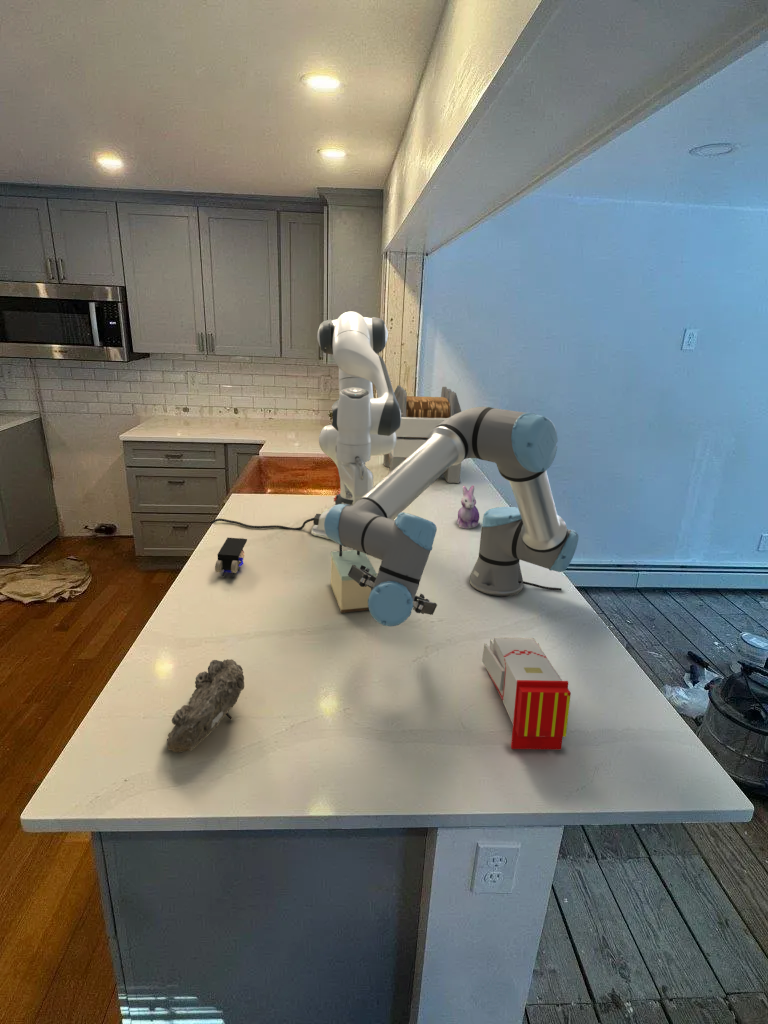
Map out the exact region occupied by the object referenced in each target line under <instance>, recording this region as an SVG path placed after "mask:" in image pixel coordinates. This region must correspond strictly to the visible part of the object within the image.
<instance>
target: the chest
mask: <svg viewBox="0 0 768 1024" xmlns="http://www.w3.org/2000/svg"><path fill="white" fill-rule="evenodd" d="M330 588H331V590H332V593H333V595H334V598H335V601H336V603H337V606H338V609H339V611H340V613H341V614H343V613H354V612H363V611H369V607H368V598H369V595H370V592H371V588H370V587H368V586H367V587H361V586H360V585H359V583H357V582H356V581H355V580H347V581H342V580H341V578H340V576H339V573H338V571H337V569H336V566H335V564H334V562H333V559H332V557H331V556H330Z"/></svg>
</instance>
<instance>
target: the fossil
mask: <svg viewBox="0 0 768 1024" xmlns="http://www.w3.org/2000/svg"><path fill="white" fill-rule="evenodd" d="M243 670H244V669H243V667H242V665H240V664H237V662H236V661H235V660H234V659H232V658H231V659H227V658H226V659H224V660H223V661H222V660H217V659H212V660H211V661H210V663H209V665H208V666H207V671H201V672H199V673H198V674H197V675H196V676H195V680H194V684H195V685H194V687H195V689H194V690H193V693H192V694H191V697H190V698H189V700H188V704H184V705H182V706H181V707H180V709H177V710H176V711H175V713H174V715H173V716H172V718H171V723H172V724H173V727H172V730H171V731H170V732H168V734H167V738H166V741H167V742H166V745H167V749H168V750H169V751H173V752H174V753H176V754H178V753H182V752H188V751H189V752H192V751H193V750H195V748H196V747H197V746H199V744H200V743H201V742H203V741H204V740H205V739H206V738H207V737H208V736H209V735H210V734H211V733H212V732H214V730H215V729H217V727H218V726H219V724H220V722H221V721H222V720H223V719H224V718H225V716H226V717H227V719H229V720H233V717H232V715H230V714H229V710H230V709H231V708H234V706H235V704H236V703H237V702H238V699H239V697H240V695H241V693H242V691H243V690H245V689H244V688H245V675H244V671H243Z"/></svg>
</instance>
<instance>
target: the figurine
mask: <svg viewBox="0 0 768 1024" xmlns="http://www.w3.org/2000/svg"><path fill="white" fill-rule="evenodd" d="M474 492H475V485H474V484H472V485H471V486H470V487H469V489H468V488H467V487H466V485H463V486H462V497H461V500H460V503H461V508H459V509H458V510H457V511H458V512H457V520H456V524H457V526H459V528H460V529H467V530H468V529H473V528H476V527H477V526H478V525H479V522H480V512H479V509H478V507H477V506H476V505H477V500H476V497H475V495H474Z"/></svg>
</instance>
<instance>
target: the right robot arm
mask: <svg viewBox="0 0 768 1024" xmlns="http://www.w3.org/2000/svg"><path fill="white" fill-rule="evenodd" d="M558 442H559V439H558V432H557V429H556V426H555V424H554V422H553V421H552V420H551V419H550V418H548V417H546V416H543V415H540V414H536V413H533V412H524V411H517V410H510V409H503V408H496V407H492V406H474V407H471V408H467V409H464V410H461V412H459V413H457V414H455V415H453V416H451V417H449V418H448V419H446V420H444V421H443V422H442V423H440V424H439V425H438V426H436V427H435V428H434V429H433V430H432V431H431V432H430V433H429V436H428V440H427V441H426V442H425V443H424V444H423V445H421V446H420V447H419V448H418V449H417V450H416V451H415V452H413V453H412V454H411V455H410V456H409V457H408V458H406V459H405V460H404V461H403V462H402V463H401V464H400V465H398V466H397V467H396V468H395V469H394V470H393V471H392V472H390V471H389V472H388V474H387V475H386V476H384V477H383V478H381V480H379V482H377V483H376V485H373V488H372V489H371V490H370V491H369V492H367V493H366V494H365V495H364V496H363V497H362V498H361V499H360V500H358V501H357V502H356V503H355V504H354V505H352V506H350V505H348V504H346V505H345V504H338V505H335V506H333V507H332V508H331V509H330V510H329V512H328V513H327V515H326V518H325V522H324V529H325V533H326V535H327V536H328V538H329V539H328V540H330V541H332V542H334V543H336V544H338V545H339V544H340V545H342V547H345V548H349V549H352V550H357V551H360V552H362V553H365V554H366V555H367V556H370V557H373V558H375V559H378V560H380V561H381V562H380V565H379V568H378V571H377V577H375V576H374V575H372V574H370V573H369V570H370V569H368V568H367V569H365V568H366V567H365V566H363V565H361V567H360V569H359V568H358V567H356V566H355V565H352V567H351V569H350V571H349V573H348V576H349V577H351V578H352V579H353V580H355V581H356V582H357V583H359V585H360V586H361V587H367V586H368V587H370V588H371V592H370V595H369V598H368V607H369V610H368V611H369V613H370V616H371V617H372V618H373V619H374V621H375V622H377V623H378V624H380V625H382V626H385V627H396V626H399V625H401V624H403V623H404V622H405V621H406V620H408V618H409V617H410V616H411V615H412V610H413V611H414V612H415V613H416V614H422V615H424V614H426V615H430V616H433V615H434V613H435V611H436V609H437V606H438V604H437V603H436V602H432V601H430V599H428V598H426V597H425V594H423V593H419V595H417V594H418V593H417V592H418V589H419V586H420V583H421V579H422V576H423V574H424V571H425V567H426V565H427V562H428V559H429V556H430V554H431V551H432V550H433V545H434V541H435V539H436V534H437V525H436V524H435V522H433V521H431V520H428V519H426V518H423V517H420V516H417V515H415V514H412V513H408V512H404V511H405V510H406V509H407V508H408V507H409V506H410V505H412V503H413V502H414V501H415V500H416V499H418V498H419V497H420V496H421V495H422V494H423V493H424V492H425V491H426V490H428V488H429V487H430V486H432V484H434V482H436V480H438V479H439V478H440V477H441V476H442V475H444V474H443V473H444V472H445V471H446V470H447V469H448V468H449V467H450V466H454V465H458V464H460V463H461V464H462V462H464V460H467V459H478V460H481V461H485V462H490V463H495V464H496V468H497V471H498V472H499V474H500V476H501V477H502V478H503V479H504V480H506V481H508V482H509V485H510V487H511V490H512V493H513V497H514V500H515V502H516V506H517V507H515V506H497V507H493V508H490V509H488V510H486V511H485V512H484V514H483V516H482V522H481V525H480V527H481V529H480V539H479V549H478V557H477V560H476V562H475V564H474V566H473V567H472V570H471V572H470V575H469V584H470V585H471V587H472V588H473V589H475V590H476V591H478V592H481V593H483V594H486V595H489V596H490V595H491V596H496V597H510V596H514V595H517V594H519V593H521V591H522V590H523V586H524V585H528V586H531V587H536V588H538V589H543V590H548V591H558V592H559V591H561V592H562V587H552V586H551V587H550V586H544V585H541V584H537V583H533V582H529V581H525V580H524V579H523V574H522V570H521V565H520V561H522V562H525V563H529V564H532V565H535V566H538V567H541V568H544V569H546V570H547V569H548V570H549V571H554V572H558V573H562V572H565V571H566V570H567V569H568V567H569V565H570V564H571V562H572V561H573V559H574V556H575V553H576V550H577V547H578V543H579V533H578V532H577V531H575V530H574V529H568V526H567V524H566V522H565V520H564V519H563V518H562V517H561V516H560V515H558V512H557V508H556V504H555V500H554V496H553V492H552V489H551V484H550V480H549V476H548V472H547V470H548V469H549V468H551V466H552V464H553V463H554V460H555V459H556V457H557V452H558V446H557V444H558Z"/></svg>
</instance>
